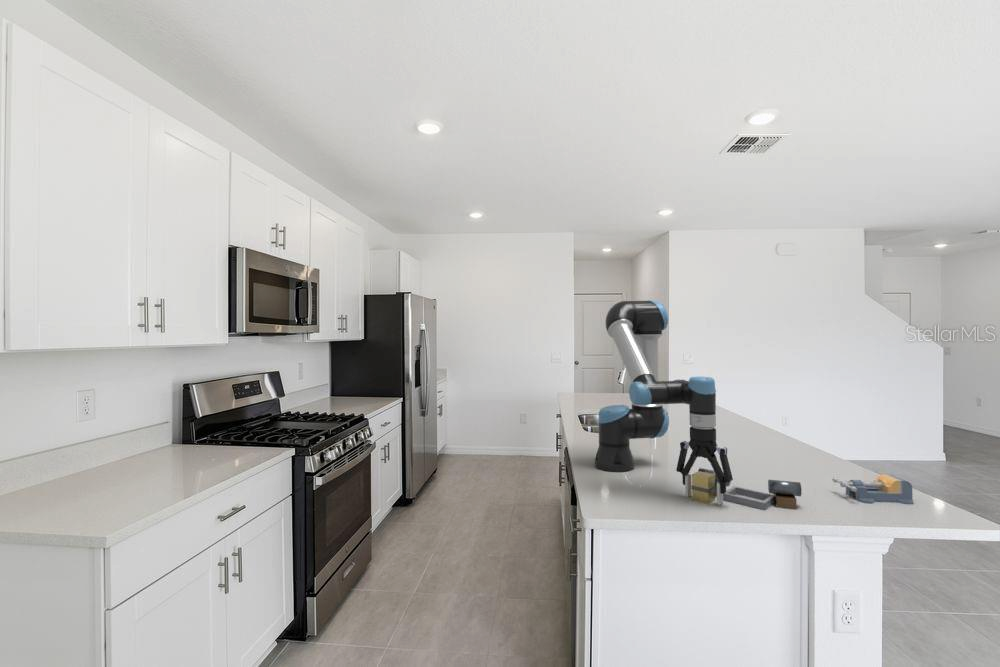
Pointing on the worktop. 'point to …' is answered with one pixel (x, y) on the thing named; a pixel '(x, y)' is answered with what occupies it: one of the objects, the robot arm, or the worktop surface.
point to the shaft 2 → (784, 493)
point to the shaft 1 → (715, 478)
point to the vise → (879, 489)
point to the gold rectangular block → (703, 487)
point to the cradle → (767, 498)
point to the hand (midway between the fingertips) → (703, 499)
